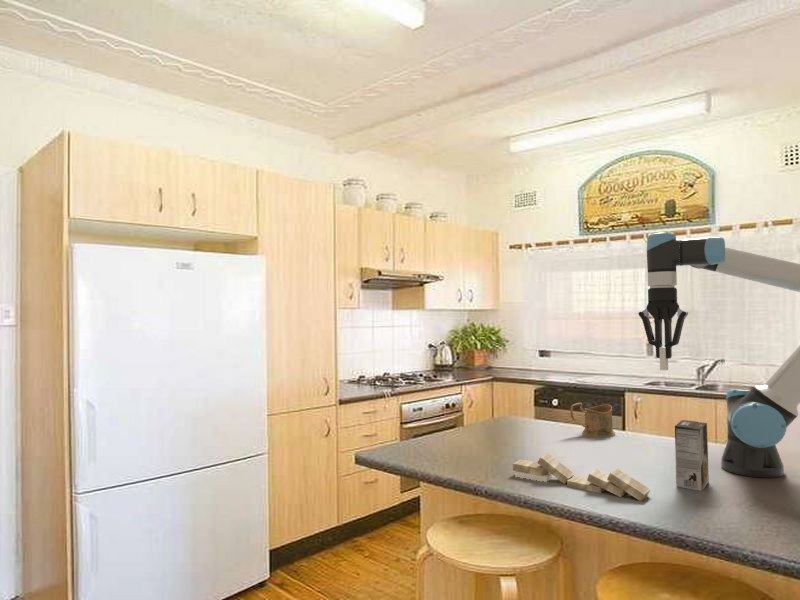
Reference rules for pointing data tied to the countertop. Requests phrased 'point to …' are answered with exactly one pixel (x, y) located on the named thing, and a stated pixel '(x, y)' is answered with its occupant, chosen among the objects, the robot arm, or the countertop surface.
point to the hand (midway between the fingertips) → (664, 369)
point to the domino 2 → (534, 476)
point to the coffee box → (691, 455)
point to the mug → (596, 420)
